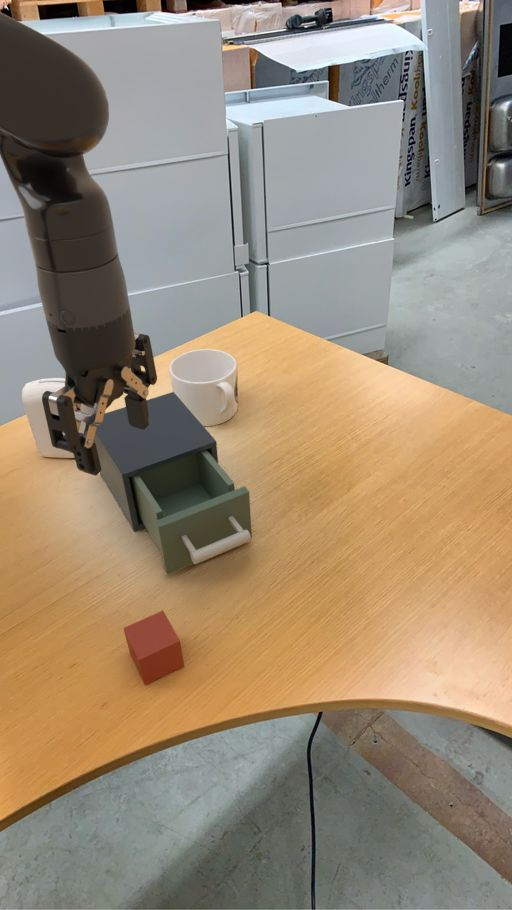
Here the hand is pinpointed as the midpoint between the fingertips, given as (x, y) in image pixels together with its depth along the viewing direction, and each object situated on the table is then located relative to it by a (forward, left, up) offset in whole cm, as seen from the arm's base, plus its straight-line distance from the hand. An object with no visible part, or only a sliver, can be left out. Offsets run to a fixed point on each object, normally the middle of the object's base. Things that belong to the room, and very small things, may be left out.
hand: (116, 448), depth 69 cm
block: (-4, -14, -18) cm, 23 cm away
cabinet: (+7, +12, -18) cm, 22 cm away
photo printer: (-1, +26, -18) cm, 31 cm away
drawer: (+7, 0, -17) cm, 18 cm away
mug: (+21, +24, -18) cm, 37 cm away
